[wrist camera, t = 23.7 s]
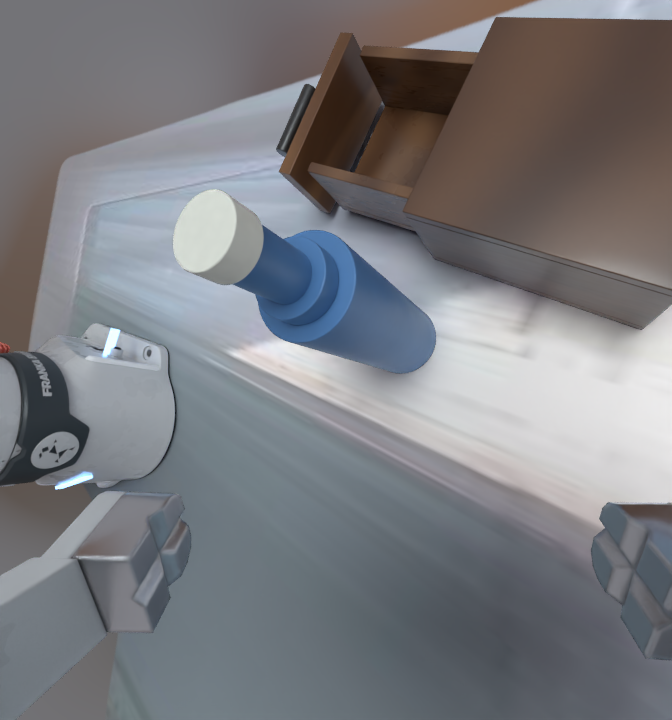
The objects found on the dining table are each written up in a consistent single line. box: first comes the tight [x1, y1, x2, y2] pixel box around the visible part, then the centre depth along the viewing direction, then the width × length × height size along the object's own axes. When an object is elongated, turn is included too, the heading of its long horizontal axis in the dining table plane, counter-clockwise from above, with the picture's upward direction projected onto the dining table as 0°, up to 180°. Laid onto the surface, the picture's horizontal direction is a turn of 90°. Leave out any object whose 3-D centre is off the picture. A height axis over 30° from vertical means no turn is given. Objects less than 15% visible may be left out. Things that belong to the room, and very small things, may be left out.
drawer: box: [276, 33, 478, 231], centre depth 31 cm, size 18×11×7 cm, turn 60°
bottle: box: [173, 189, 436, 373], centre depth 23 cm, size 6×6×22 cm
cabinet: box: [402, 17, 672, 330], centre depth 24 cm, size 15×13×9 cm
